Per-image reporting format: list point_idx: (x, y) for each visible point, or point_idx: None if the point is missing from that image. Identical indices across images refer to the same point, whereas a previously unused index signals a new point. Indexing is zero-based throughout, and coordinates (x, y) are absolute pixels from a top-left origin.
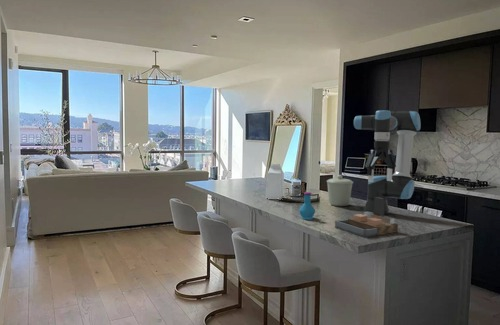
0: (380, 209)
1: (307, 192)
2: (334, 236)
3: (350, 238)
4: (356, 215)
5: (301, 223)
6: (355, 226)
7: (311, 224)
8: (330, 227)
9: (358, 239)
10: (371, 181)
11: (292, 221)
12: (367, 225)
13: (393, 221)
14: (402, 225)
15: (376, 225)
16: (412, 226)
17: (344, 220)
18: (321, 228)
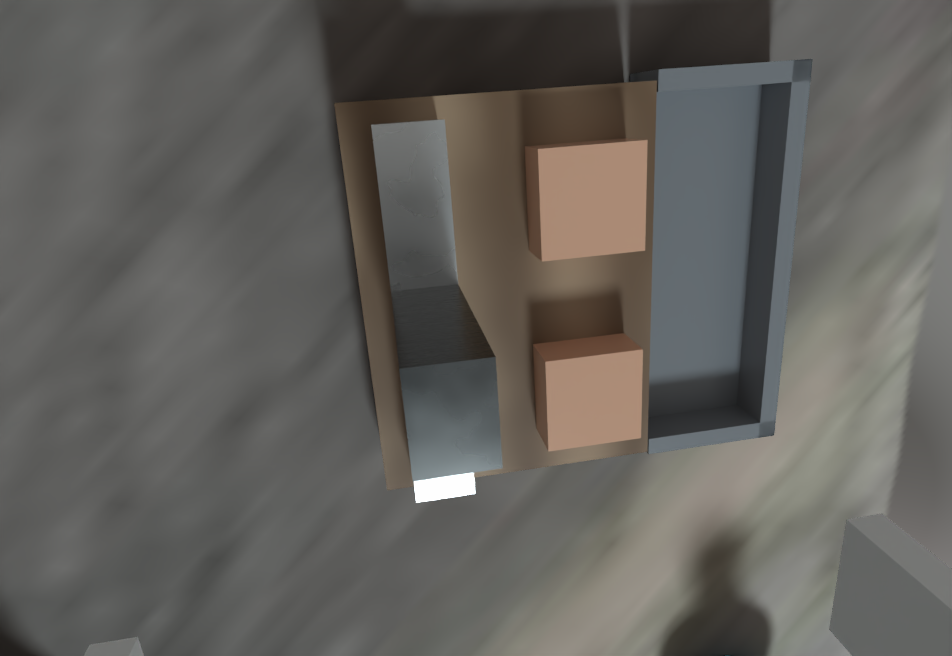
0: (459, 306)
1: None
2: (936, 192)
3: (883, 93)
4: (636, 406)
5: None
6: None
7: (820, 529)
8: None
9: (855, 39)
10: (892, 542)
11: None
12: (649, 207)
13: (387, 123)
14: (92, 294)
15: (606, 140)
16: (2, 226)
17: (689, 432)
18: (843, 416)
